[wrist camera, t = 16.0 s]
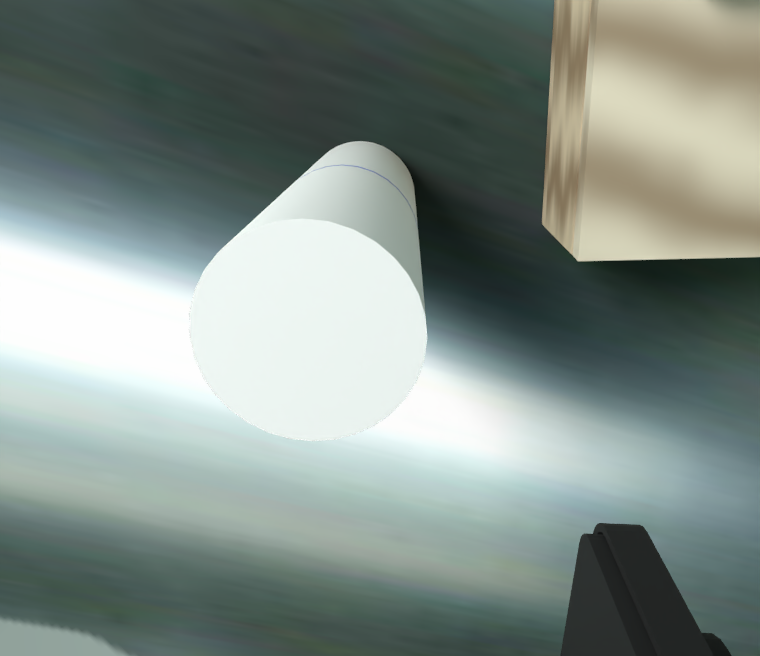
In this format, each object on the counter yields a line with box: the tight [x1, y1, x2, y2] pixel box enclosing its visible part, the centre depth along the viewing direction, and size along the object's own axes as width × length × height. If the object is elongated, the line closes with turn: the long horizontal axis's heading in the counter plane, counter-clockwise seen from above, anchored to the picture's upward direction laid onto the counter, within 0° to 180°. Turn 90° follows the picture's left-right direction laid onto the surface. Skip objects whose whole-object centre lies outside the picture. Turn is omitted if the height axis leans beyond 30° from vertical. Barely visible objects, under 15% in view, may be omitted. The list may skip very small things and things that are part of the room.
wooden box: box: [542, 0, 592, 254], centre depth 35 cm, size 20×14×8 cm
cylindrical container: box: [189, 141, 427, 441], centre depth 31 cm, size 7×7×25 cm
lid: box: [573, 0, 760, 261], centre depth 30 cm, size 20×14×4 cm
